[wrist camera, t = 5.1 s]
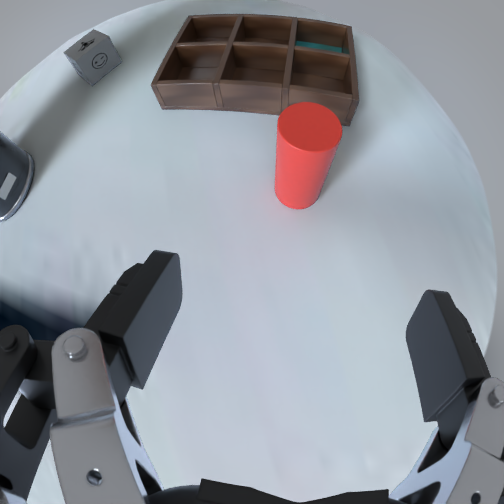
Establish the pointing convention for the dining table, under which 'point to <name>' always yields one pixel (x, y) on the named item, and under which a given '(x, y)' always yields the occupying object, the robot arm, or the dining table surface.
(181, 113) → the dining table surface
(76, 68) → the dice cube
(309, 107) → the red cylinder
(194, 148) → the dining table surface
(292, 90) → the grid
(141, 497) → the robot arm
